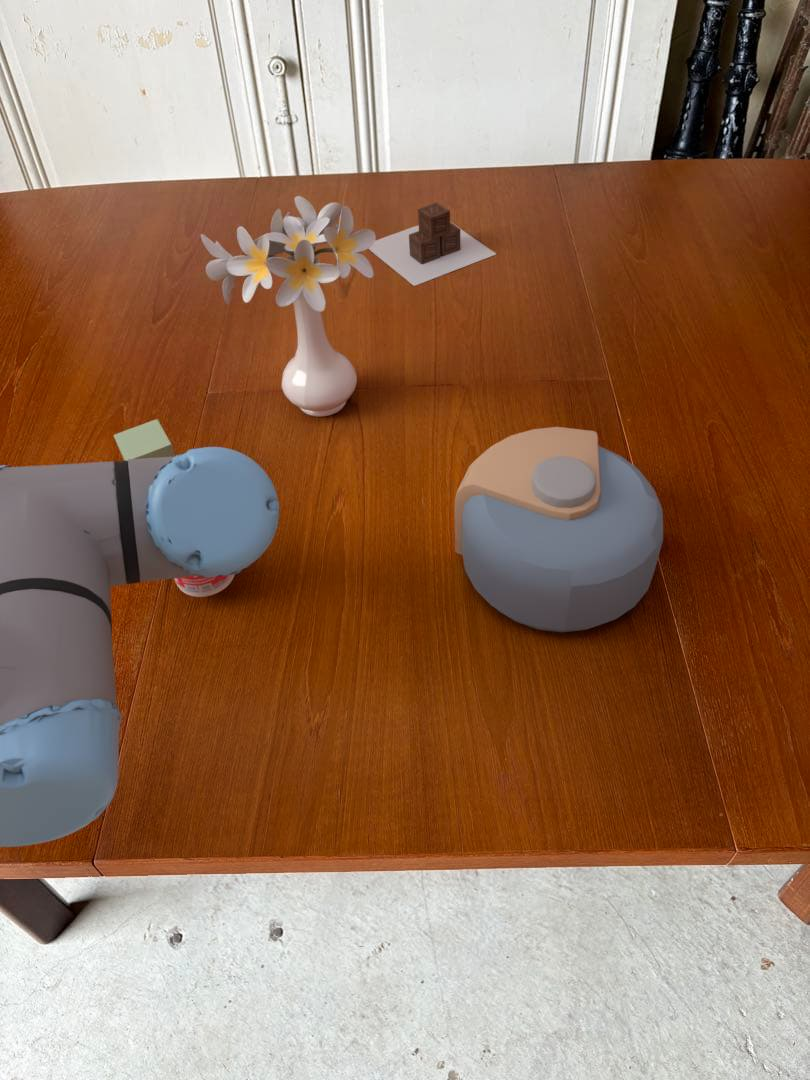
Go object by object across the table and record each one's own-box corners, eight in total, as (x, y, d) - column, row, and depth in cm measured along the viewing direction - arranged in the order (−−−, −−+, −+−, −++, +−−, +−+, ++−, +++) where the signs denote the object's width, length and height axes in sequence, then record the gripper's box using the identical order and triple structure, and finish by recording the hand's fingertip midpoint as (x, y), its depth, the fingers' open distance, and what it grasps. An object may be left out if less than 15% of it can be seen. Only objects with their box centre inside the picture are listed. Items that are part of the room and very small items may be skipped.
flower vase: (241, 386, 106) (192, 199, 87) (379, 362, 108) (361, 173, 89) (250, 452, 97) (198, 260, 79) (400, 423, 99) (385, 229, 80)
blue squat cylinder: (574, 469, 92) (585, 383, 83) (692, 591, 80) (721, 506, 71) (425, 532, 87) (420, 448, 78) (527, 672, 75) (536, 591, 66)
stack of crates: (442, 216, 133) (441, 174, 128) (496, 254, 124) (498, 211, 119) (363, 245, 128) (359, 202, 123) (413, 286, 120) (411, 242, 114)
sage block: (190, 496, 93) (171, 444, 87) (148, 513, 91) (126, 461, 85) (176, 471, 96) (157, 418, 90) (135, 487, 94) (113, 434, 88)
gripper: (96, 621, 58) (110, 604, 80) (337, 517, 63) (288, 527, 85) (51, 525, 57) (77, 533, 79) (298, 427, 63) (259, 461, 85)
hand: (186, 530), depth 82 cm, fingers closed on pill bottle, 6 cm apart
